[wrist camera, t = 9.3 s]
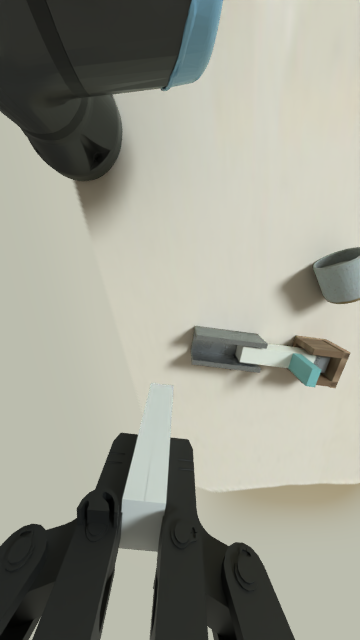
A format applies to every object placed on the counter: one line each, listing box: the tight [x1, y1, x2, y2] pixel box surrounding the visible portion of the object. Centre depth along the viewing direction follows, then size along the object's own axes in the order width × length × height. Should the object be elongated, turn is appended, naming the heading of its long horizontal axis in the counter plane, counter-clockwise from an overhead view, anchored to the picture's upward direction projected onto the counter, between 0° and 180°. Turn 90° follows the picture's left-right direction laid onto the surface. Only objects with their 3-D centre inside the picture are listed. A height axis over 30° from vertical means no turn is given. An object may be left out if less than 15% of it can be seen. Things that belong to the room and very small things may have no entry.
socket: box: [287, 336, 350, 388], centre depth 41 cm, size 8×7×6 cm
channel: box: [191, 326, 268, 373], centre depth 41 cm, size 6×14×6 cm, turn 82°
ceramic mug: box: [313, 247, 360, 304], centre depth 35 cm, size 11×8×8 cm
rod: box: [235, 344, 330, 387], centre depth 38 cm, size 4×18×10 cm, turn 82°
